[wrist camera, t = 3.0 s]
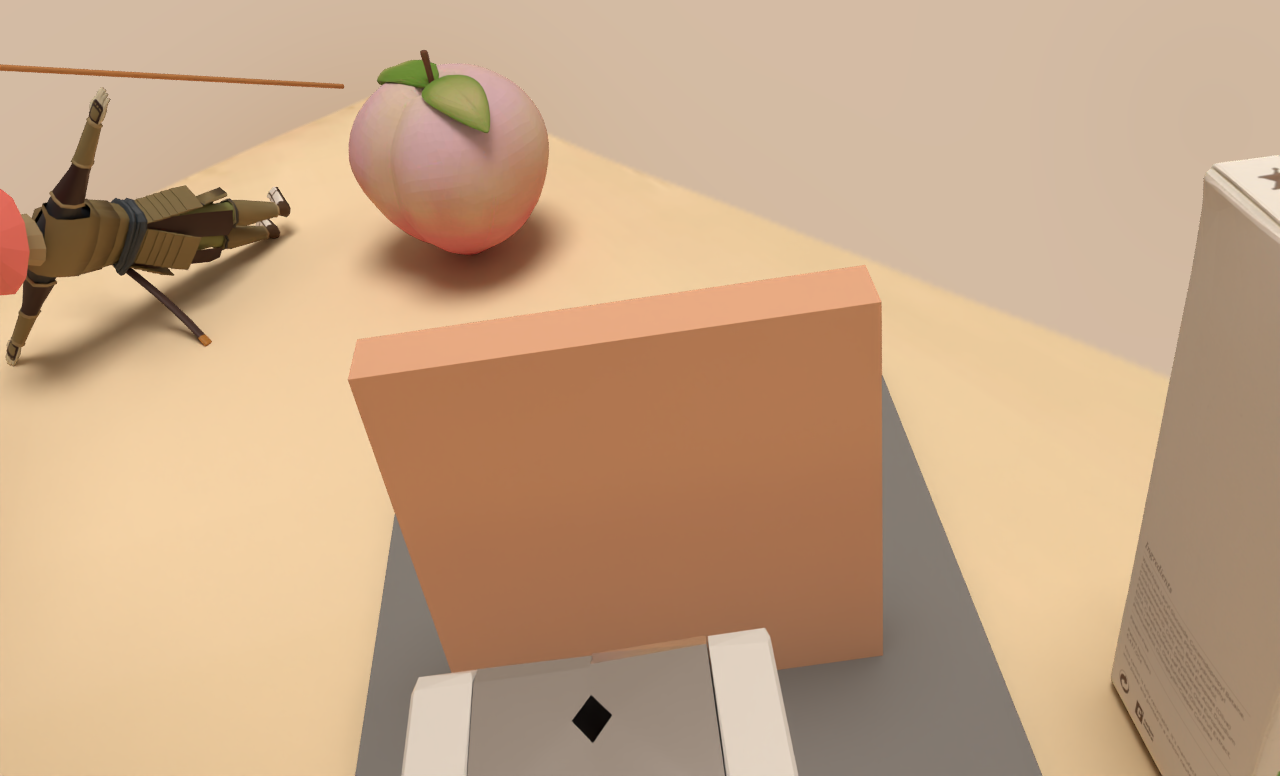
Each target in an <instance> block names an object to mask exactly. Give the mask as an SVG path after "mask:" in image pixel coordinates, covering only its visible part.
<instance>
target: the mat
mask: <svg viewBox="0 0 1280 776" xmlns="http://www.w3.org/2000/svg"><path fill="white" fill-rule="evenodd" d="M882 543H883V655H882V656H875V657H868V658H861V659H853V660H846V661H839V662H832V663H824V664H817V665H810V666H803V667H796V668H788V669H781V670H777V673H778V677H779V682H780V687H781V692H782V697H783V702H784V707H785V712H786V717H787V722H788V727H789V732H790V736H791V741H792V746H793V751H794V756H795V761H796V766H797V771H798V776H1042V773H1041V771H1040V768H1039V766H1038V763H1037V761H1036V758H1035V756H1034V753H1033V751H1032V748H1031V746H1030V743H1029V741H1028V738H1027V736H1026V733H1025V731H1024V728H1023V726H1022V723H1021V721H1020V718H1019V716H1018V713H1017V711H1016V708H1015V706H1014V703H1013V701H1012V698H1011V696H1010V693H1009V691H1008V688H1007V686H1006V683H1005V681H1004V678H1003V676H1002V673H1001V671H1000V668H999V666H998V663H997V661H996V658H995V656H994V653H993V651H992V648H991V646H990V643H989V641H988V638H987V636H986V633H985V631H984V628H983V626H982V623H981V621H980V618H979V616H978V613H977V611H976V608H975V606H974V603H973V601H972V598H971V596H970V593H969V591H968V588H967V586H966V583H965V581H964V578H963V576H962V573H961V571H960V568H959V566H958V563H957V561H956V558H955V556H954V553H953V551H952V548H951V546H950V543H949V541H948V538H947V536H946V533H945V531H944V528H943V526H942V523H941V521H940V518H939V516H938V513H937V511H936V508H935V506H934V503H933V501H932V498H931V496H930V493H929V491H928V488H927V486H926V483H925V481H924V478H923V476H922V473H921V471H920V468H919V466H918V463H917V461H916V458H915V456H914V453H913V451H912V448H911V446H910V443H909V441H908V438H907V436H906V433H905V431H904V428H903V426H902V423H901V421H900V418H899V416H898V413H897V411H896V408H895V406H894V403H893V401H892V398H891V396H890V393H889V391H888V388H887V386H886V383H885V381H884V378H883V376H882ZM447 673H451V670H450V667H449V664H448V662H447V659H446V656H445V653H444V650H443V647H442V645H441V642H440V639H439V636H438V633H437V630H436V628H435V625H434V622H433V619H432V616H431V613H430V611H429V608H428V605H427V602H426V599H425V596H424V594H423V591H422V588H421V585H420V582H419V579H418V577H417V574H416V571H415V568H414V565H413V562H412V560H411V557H410V554H409V551H408V548H407V546H406V543H405V540H404V537H403V534H402V531H401V529H400V526H399V523H398V520H397V517H396V514H395V517H394V523H393V530H392V537H391V543H390V550H389V556H388V563H387V570H386V576H385V583H384V589H383V596H382V603H381V609H380V616H379V622H378V629H377V635H376V642H375V649H374V655H373V662H372V668H371V675H370V682H369V688H368V695H367V701H366V708H365V715H364V721H363V728H362V734H361V741H360V748H359V754H358V761H357V767H356V774H355V776H401V774H402V766H403V758H404V749H405V741H406V733H407V725H408V717H409V709H410V700H411V694H412V692H413V690H414V687H415V685H416V683H417V680H418V678H419V677H424V676H432V675H440V674H447Z"/></svg>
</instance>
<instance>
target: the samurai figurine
mask: <svg viewBox="0 0 1280 776" xmlns="http://www.w3.org/2000/svg"><path fill="white" fill-rule="evenodd" d="M0 71H19V72H37V73H57V74H75V75H94V76H112V77H132V78H133V77H134V78H152V79H169V80H188V81H207V82H226V83H245V84H264V85H283V86H302V87H321V88H339V89H343V88H344V85H343V84H332V83H315V82H296V81H280V80H262V79H245V78H225V77H209V76H192V75H174V74H157V73H140V72H122V71H104V70H88V69H70V68H53V67H35V66H18V65H17V66H16V65H0ZM105 92H106V90H105V89H104V88H103V87H101V88H100V89H99V91H98V92H97V94H96V96H95V97H94V98H93V99H92V100H91V102H90V106H89V108H90V112H89V117H88V118H87V122H86V125H85V128H84V130H83V133H82V136H81V138H80V141H79V144H78V146H77V149H76V152H75V155H74V156H73V158H72V160H71V162H72V165H71V167H70V168H69V170H68V171H67V173H66V174H65V175H64V177H63V178H62V179H61V180H60V182H59V183H58V184H57V186H56V187H55V188H54V189H53V191H51V192H50V195H51V197H50V198H49V200H48V202H47V203H43V205H42V207H40V208H37V209H35V210H34V213H33V216H32V218H31V217H29V216H28V215H27V214H22V215H21V214H20V212H19V210H18V209H17V206H16V205H15V202H14V200H13V198H12V197H10V196H9V195H8V194H7V193H5V192H4V191H3V190H1V189H0V295H9V294H16V292H17V291H18V289H19V288H20V286H21V285H22V284H23V303H22V307H21V309H20V311H19V316H18V319H17V322H16V326H15V329H14V332H13V335H12V337H11V340H8V343H7V354H6V361H7V364H9V365H12V366H15V365H16V363H17V361H18V359H19V357H20V354H21V347H23V346H24V345H25V341H26V339H27V337H28V335H29V333H30V331H31V328H32V326H33V324H34V322H35V320H36V318H37V317H38V315H39V314H40V312H41V310H40V309H41V307H42V304H43V303H44V301H45V299H46V298H47V296H48V295H49V293H50V291H51V290H52V288H53V286H54V285H55V284H57V281H56V280H55V279H56V277H70V276H79V275H81V274H85V273H88V272H92V271H96V270H100V269H102V268H103V267H106V266H109V265H112V266H113V267H114V268H115V269H116V272H117V273H118V274H119V275H121V276H122V275H124V274H125V273H127V274H128V275H129V276H130V277H132V278H133V279H134V280H135V281H137V282H138V283H139V284H140V285H142V286H143V287H144V288H145V289H146V290H148V291H149V292H150V293H151V294H152V295H154V296H155V297H156V298H157V299H158V300H159V301H160V302H162V303H163V304H164V305H165V306H166V307H167V308H168V309H169V310H170V311H172V312H173V313H174V314H175V315H176V316H177V317H178V318H179V319H180V320H181V321H182V322H183V323H184V324H185V325H186V326H187V327H188V328H189V329H190V330H191V331H192V332H193V333H194V334H195V336H196V337H197V338H198V339H199V340H200V341H201V343H202V344H203V345H204V346H207V345H208V344H210V343H211V342H212V341H211V340H210V339H209V338H208V337H207V336H206V335H205V334H204V333H203V332H202V331H201V330H200V329H199V328H198V327H197V325H196V324H195V323H194V322H193V321H192V320H191V319H190V318H189V317H188V316H187V315H186V314H185V313H183V312H182V311H181V310H180V309H179V308H178V307H177V306H176V305H175V304H174V303H173V302H172V301H170V300H169V299H168V298H167V297H166V296H165V295H164V294H163V293H161V292H160V291H159V290H158V289H157V288H155V287H154V286H153V285H152V284H151V283H150V282H148V281H147V280H146V279H145V278H143V277H142V276H141V275H140V274H138V273H137V272H136V271H135V270H133V269H132V268H134V269H139V270H142V271H147V272H152V273H158V274H160V275H172V276H174V274H173V273H172V272H171V271H170V270H169V269H168V268H171V269H185V270H188V269H189V267H190V264H194V263H203V262H210V261H213V260H215V259H217V258H219V257H220V255H221V251H222V250H224V249H232V248H236V247H239V246H243V245H246V244H250V243H253V242H257V241H260V240H265V239H269V238H277V237H279V235H280V231H279V229H278V227H277V226H276V225H275V224H274V223H273V222H272V221H270V220H269V219H270V218H273V217H278V215H280V216H284V217H287V216H288V215H289V214H290V206H289V204H288V203H287V201H286V200H285V198H284V197H283V195H282V193H281V192H280V190H279V189H278V187H273V188H272V189H271V190H270V191H269V193H268V195H267V197H268V198H269V199H270V201H271V202H261V201H247V200H231V199H225V200H223V201H221V202H220V203H216V204H213V201H216V200H218V199H221V198H224V197H226V196H227V193H226V192H225V191H224V190H222V189H221V188H220V187H219V188H217V189H214V190H211V191H209V192H206V193H203V194H201V195H198V196H195V195H194V194H193V193H192V192H191V191H190V190H189V189H188V187H187V186H186V185H185V186H181V187H176V188H171V189H169V190H165V191H160V192H159V193H155V194H153V195H149V196H146V197H143V198H138V199H136V200H132V199H128V198H126V199H125V200H120V199H117V198H115V199H114V200H113V201H112V202H111V203H110V202H108V201H104V200H88V199H85V196H86V190H87V185H88V179H89V173H90V170H91V167H92V165H93V164H94V157H95V152H96V148H97V144H98V139H99V135H100V131H101V127H102V126H103V125H102V124H101V122H102V121H103V120H104V118H105V115H106V112H107V106H108V103H109V101H110V98H107V96H108V94H107V93H105ZM106 98H107V99H106ZM254 223H256V226H247V225H250V224H254ZM209 247H213V249H206V248H209ZM202 249H204V250H202Z"/></svg>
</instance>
